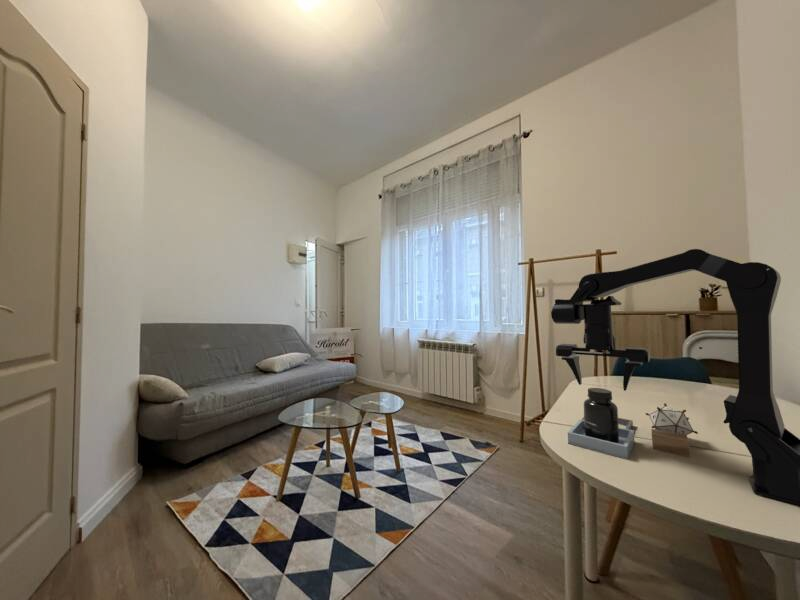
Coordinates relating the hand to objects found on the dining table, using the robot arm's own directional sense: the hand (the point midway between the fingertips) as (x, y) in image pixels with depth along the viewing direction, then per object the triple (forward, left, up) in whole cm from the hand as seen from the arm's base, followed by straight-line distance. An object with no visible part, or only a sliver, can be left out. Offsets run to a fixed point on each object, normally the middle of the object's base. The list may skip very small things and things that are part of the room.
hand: (601, 387), depth 71 cm
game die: (+11, -12, -13) cm, 21 cm away
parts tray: (-2, 0, -13) cm, 13 cm away
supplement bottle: (-2, 0, -12) cm, 13 cm away
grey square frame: (+10, +1, -13) cm, 16 cm away
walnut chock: (+4, -12, -13) cm, 18 cm away
